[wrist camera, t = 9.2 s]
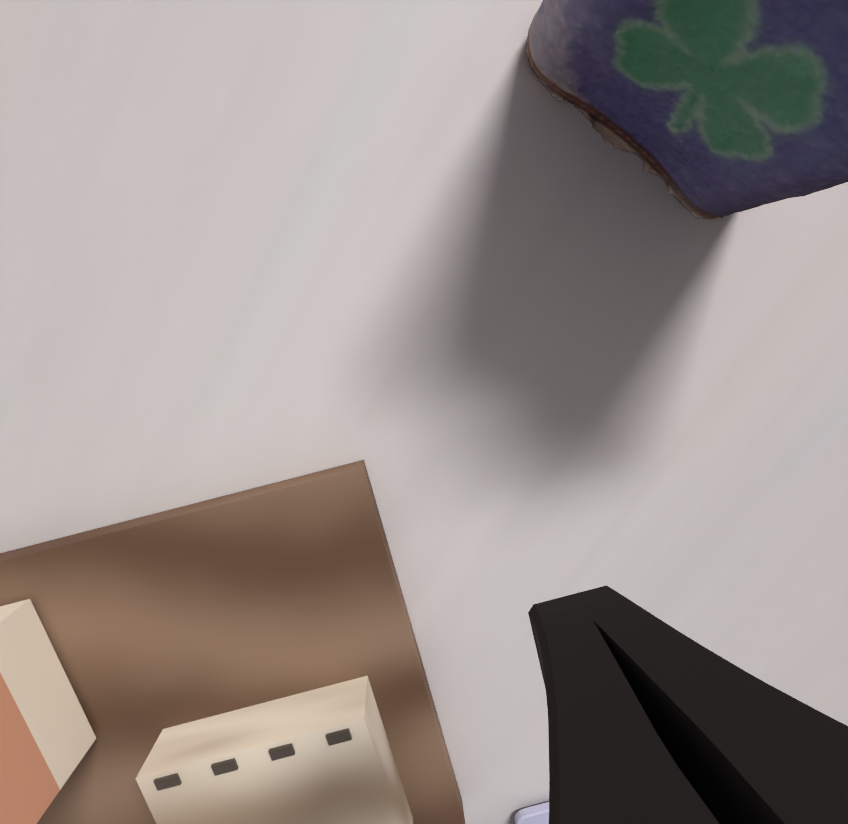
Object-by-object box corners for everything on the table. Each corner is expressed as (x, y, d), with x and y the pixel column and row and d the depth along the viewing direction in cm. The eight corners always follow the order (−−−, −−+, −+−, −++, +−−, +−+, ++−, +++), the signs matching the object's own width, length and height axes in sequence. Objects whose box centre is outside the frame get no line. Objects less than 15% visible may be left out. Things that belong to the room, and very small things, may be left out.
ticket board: (461, 800, 21) (473, 881, 18) (14, 918, 21) (-50, 1020, 18) (363, 460, 18) (357, 490, 15) (-171, 597, 18) (-289, 657, 15)
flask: (507, 60, 15) (752, -473, 5) (564, -25, 15) (960, -797, 5) (713, 239, 17) (1231, 122, 7) (769, 166, 17) (1415, -82, 6)
